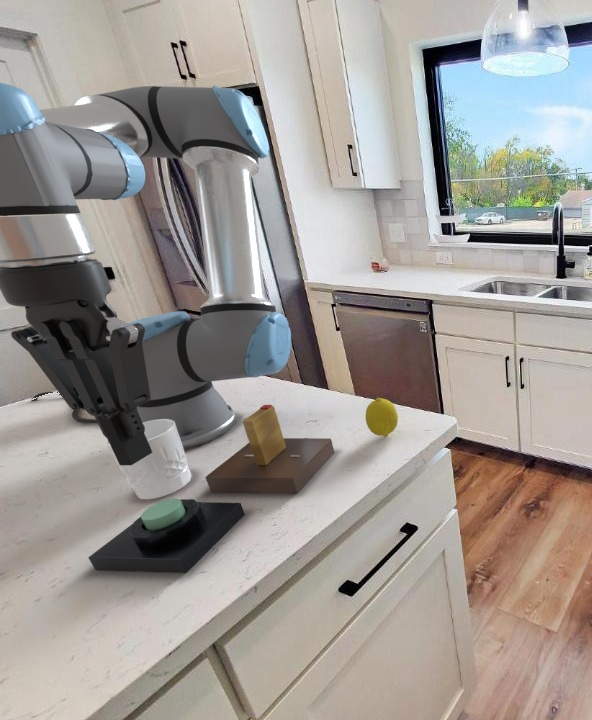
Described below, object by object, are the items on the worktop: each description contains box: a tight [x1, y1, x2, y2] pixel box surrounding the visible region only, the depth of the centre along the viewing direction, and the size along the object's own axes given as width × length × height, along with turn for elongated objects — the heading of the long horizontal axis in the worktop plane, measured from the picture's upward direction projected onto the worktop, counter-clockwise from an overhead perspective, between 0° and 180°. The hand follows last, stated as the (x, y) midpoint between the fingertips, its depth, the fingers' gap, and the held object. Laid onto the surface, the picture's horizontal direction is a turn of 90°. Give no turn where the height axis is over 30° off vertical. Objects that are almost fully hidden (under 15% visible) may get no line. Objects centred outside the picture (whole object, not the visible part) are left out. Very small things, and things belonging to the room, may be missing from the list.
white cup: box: [105, 419, 192, 501], centre depth 65 cm, size 8×8×10 cm
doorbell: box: [88, 498, 246, 574], centre depth 55 cm, size 12×10×4 cm
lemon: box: [365, 397, 399, 438], centre depth 77 cm, size 6×6×8 cm
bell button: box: [140, 498, 186, 530], centre depth 54 cm, size 4×4×2 cm
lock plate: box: [204, 437, 335, 495], centre depth 69 cm, size 14×11×3 cm
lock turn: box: [241, 404, 286, 465], centre depth 67 cm, size 5×2×8 cm, turn 176°
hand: (136, 458), depth 51 cm, fingers closed
